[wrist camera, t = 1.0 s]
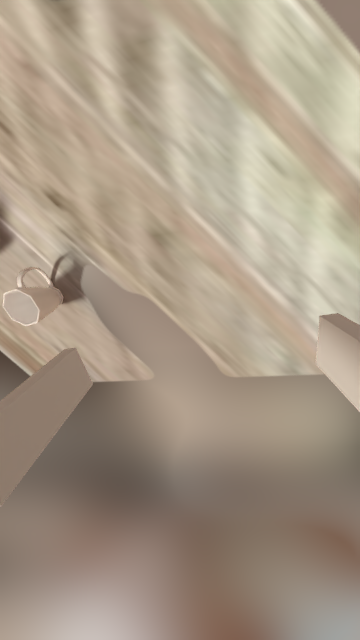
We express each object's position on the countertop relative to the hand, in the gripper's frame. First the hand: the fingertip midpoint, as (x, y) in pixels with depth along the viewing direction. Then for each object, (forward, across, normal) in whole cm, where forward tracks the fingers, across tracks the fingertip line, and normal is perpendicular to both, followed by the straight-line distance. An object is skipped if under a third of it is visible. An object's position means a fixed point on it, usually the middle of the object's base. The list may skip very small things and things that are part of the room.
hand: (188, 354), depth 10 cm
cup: (+27, -31, +2) cm, 41 cm away
